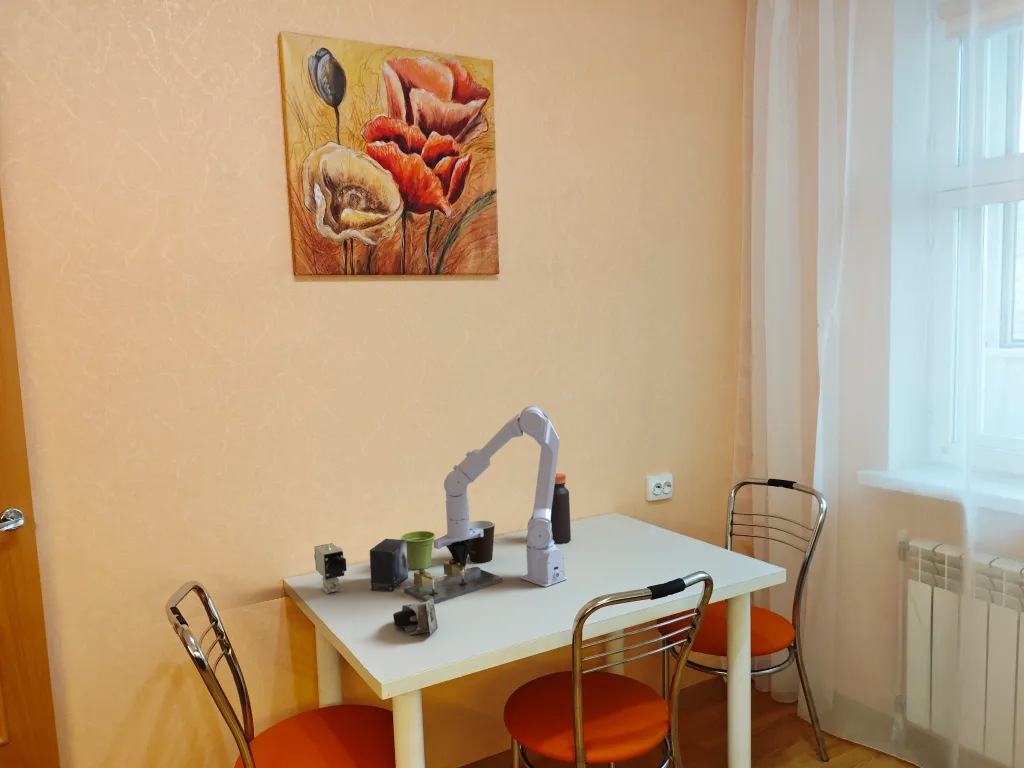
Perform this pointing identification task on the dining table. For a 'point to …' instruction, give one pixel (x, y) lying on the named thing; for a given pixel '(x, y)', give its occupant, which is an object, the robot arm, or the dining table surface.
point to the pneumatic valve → (330, 565)
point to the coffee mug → (482, 542)
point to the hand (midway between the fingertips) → (460, 569)
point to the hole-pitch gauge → (449, 584)
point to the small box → (388, 564)
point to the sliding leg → (453, 569)
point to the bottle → (560, 511)
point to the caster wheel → (417, 617)
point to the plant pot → (419, 549)
